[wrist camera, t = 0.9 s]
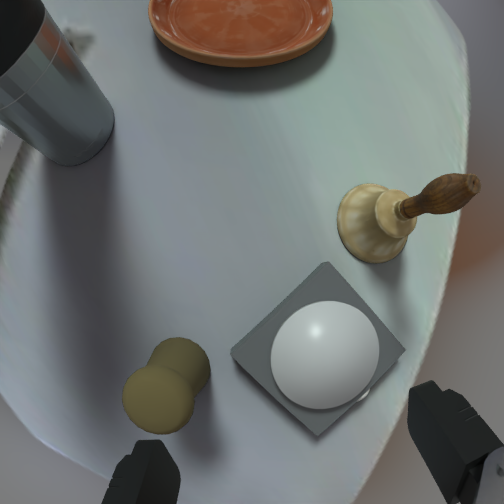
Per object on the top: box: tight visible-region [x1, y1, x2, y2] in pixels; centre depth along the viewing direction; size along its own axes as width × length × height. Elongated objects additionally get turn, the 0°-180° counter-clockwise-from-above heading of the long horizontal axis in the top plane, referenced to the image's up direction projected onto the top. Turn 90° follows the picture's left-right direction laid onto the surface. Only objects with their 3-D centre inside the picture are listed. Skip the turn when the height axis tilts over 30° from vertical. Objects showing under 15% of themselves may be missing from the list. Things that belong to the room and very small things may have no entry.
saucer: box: [148, 0, 333, 67], centre depth 32 cm, size 23×23×4 cm
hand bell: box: [337, 173, 481, 263], centre depth 24 cm, size 8×8×16 cm
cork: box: [122, 337, 210, 434], centre depth 24 cm, size 6×6×11 cm
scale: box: [230, 262, 405, 436], centre depth 29 cm, size 12×12×4 cm
